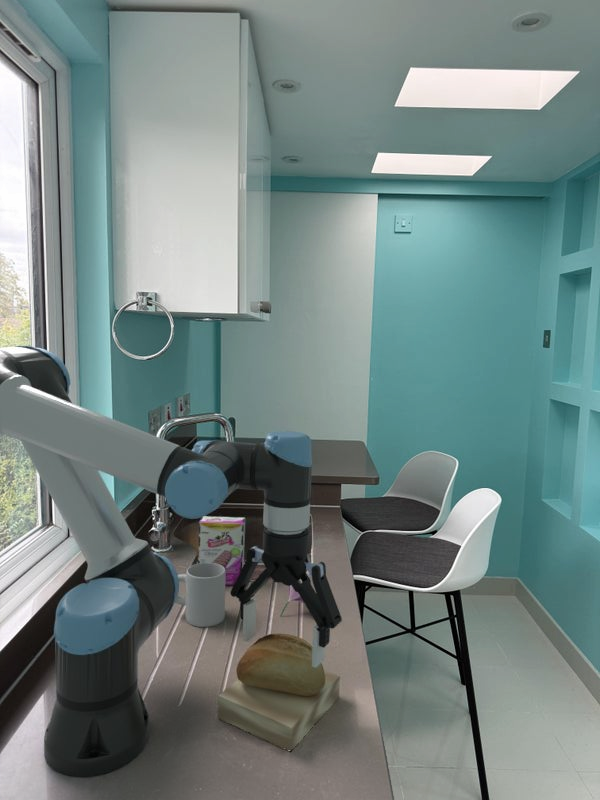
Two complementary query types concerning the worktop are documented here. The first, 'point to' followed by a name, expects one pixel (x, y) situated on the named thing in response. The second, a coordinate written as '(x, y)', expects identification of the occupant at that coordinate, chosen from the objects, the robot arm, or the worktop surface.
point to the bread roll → (281, 665)
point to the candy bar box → (223, 544)
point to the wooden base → (276, 710)
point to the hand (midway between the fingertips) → (282, 650)
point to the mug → (204, 594)
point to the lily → (293, 597)
